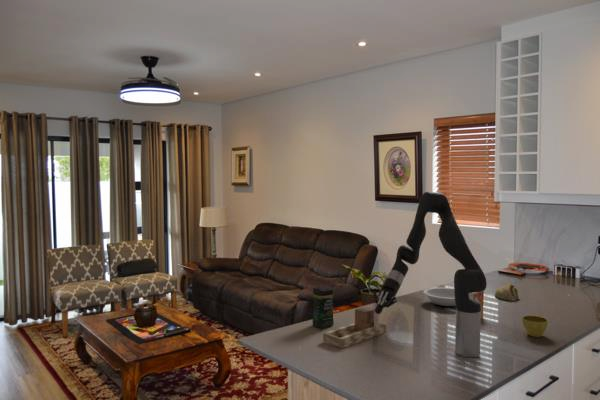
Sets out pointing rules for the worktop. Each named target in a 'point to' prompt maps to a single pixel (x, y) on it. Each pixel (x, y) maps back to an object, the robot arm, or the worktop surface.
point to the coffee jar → (323, 306)
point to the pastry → (507, 293)
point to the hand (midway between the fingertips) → (376, 312)
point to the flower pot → (534, 325)
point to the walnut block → (364, 318)
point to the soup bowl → (441, 296)
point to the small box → (478, 299)
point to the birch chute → (351, 335)
